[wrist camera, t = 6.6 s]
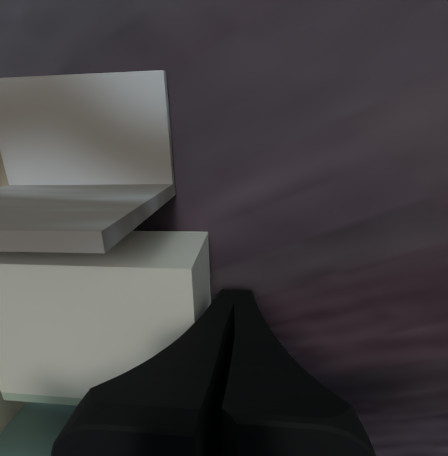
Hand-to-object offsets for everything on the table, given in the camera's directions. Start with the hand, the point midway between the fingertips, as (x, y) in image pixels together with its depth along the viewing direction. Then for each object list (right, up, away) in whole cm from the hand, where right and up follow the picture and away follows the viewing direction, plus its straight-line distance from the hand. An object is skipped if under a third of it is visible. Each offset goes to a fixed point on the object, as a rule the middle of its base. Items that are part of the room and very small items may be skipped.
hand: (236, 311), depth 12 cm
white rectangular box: (-5, 0, +2) cm, 5 cm away
